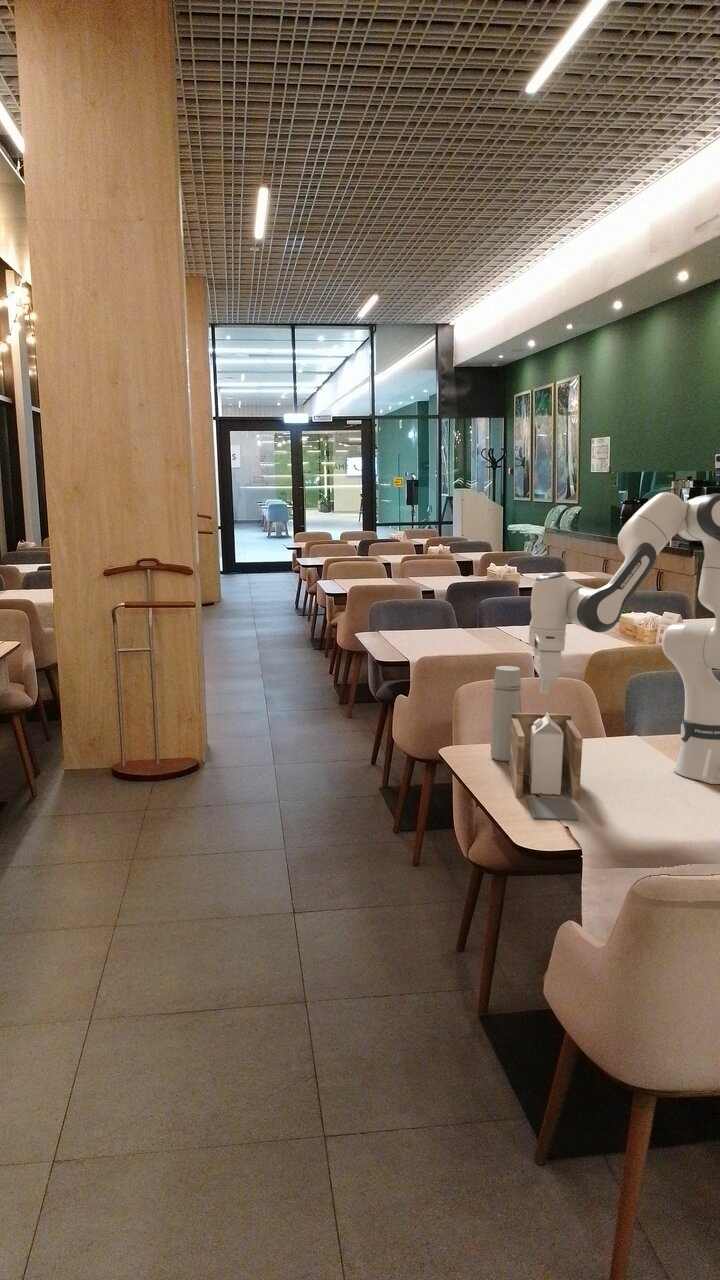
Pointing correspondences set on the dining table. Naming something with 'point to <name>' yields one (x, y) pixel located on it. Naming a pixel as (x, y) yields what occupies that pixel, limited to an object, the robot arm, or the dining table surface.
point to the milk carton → (545, 757)
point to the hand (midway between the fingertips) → (543, 693)
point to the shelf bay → (522, 743)
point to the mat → (551, 808)
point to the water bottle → (504, 709)
